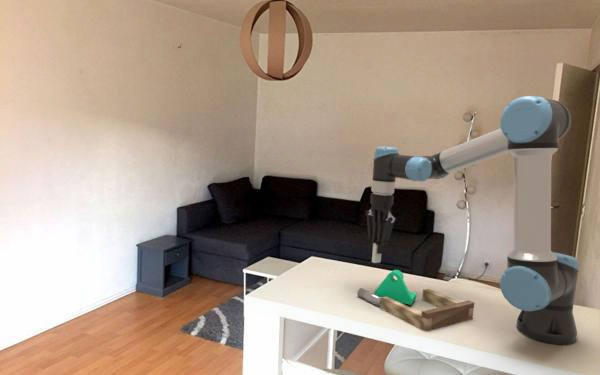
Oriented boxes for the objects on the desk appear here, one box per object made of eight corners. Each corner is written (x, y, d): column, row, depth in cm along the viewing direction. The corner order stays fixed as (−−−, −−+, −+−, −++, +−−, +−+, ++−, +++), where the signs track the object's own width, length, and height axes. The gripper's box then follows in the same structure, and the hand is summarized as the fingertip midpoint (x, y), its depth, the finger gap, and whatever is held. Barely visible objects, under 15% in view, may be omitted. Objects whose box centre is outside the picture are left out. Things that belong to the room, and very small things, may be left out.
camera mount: (416, 301, 155) (419, 270, 154) (410, 308, 148) (413, 276, 147) (380, 293, 161) (383, 263, 159) (373, 299, 154) (375, 268, 153)
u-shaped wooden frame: (472, 318, 142) (474, 302, 142) (425, 331, 131) (427, 313, 131) (426, 298, 157) (427, 284, 156) (380, 308, 146) (382, 292, 146)
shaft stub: (377, 308, 147) (385, 306, 148) (378, 298, 146) (385, 297, 148) (356, 297, 155) (364, 296, 157) (357, 288, 155) (364, 287, 156)
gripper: (404, 196, 156) (397, 266, 159) (377, 190, 166) (371, 255, 170) (387, 197, 152) (380, 268, 155) (361, 190, 162) (355, 257, 166)
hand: (376, 262), depth 162 cm, fingers closed
